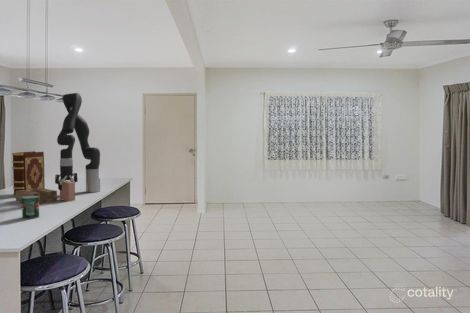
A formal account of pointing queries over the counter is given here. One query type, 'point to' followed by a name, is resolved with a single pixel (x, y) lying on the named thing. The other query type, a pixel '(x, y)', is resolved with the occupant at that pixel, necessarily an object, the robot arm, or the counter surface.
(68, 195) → the pink rectangular block
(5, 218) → the counter surface
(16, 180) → the decorative book
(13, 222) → the counter surface
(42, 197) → the book stand
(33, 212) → the canned tomato
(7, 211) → the counter surface
